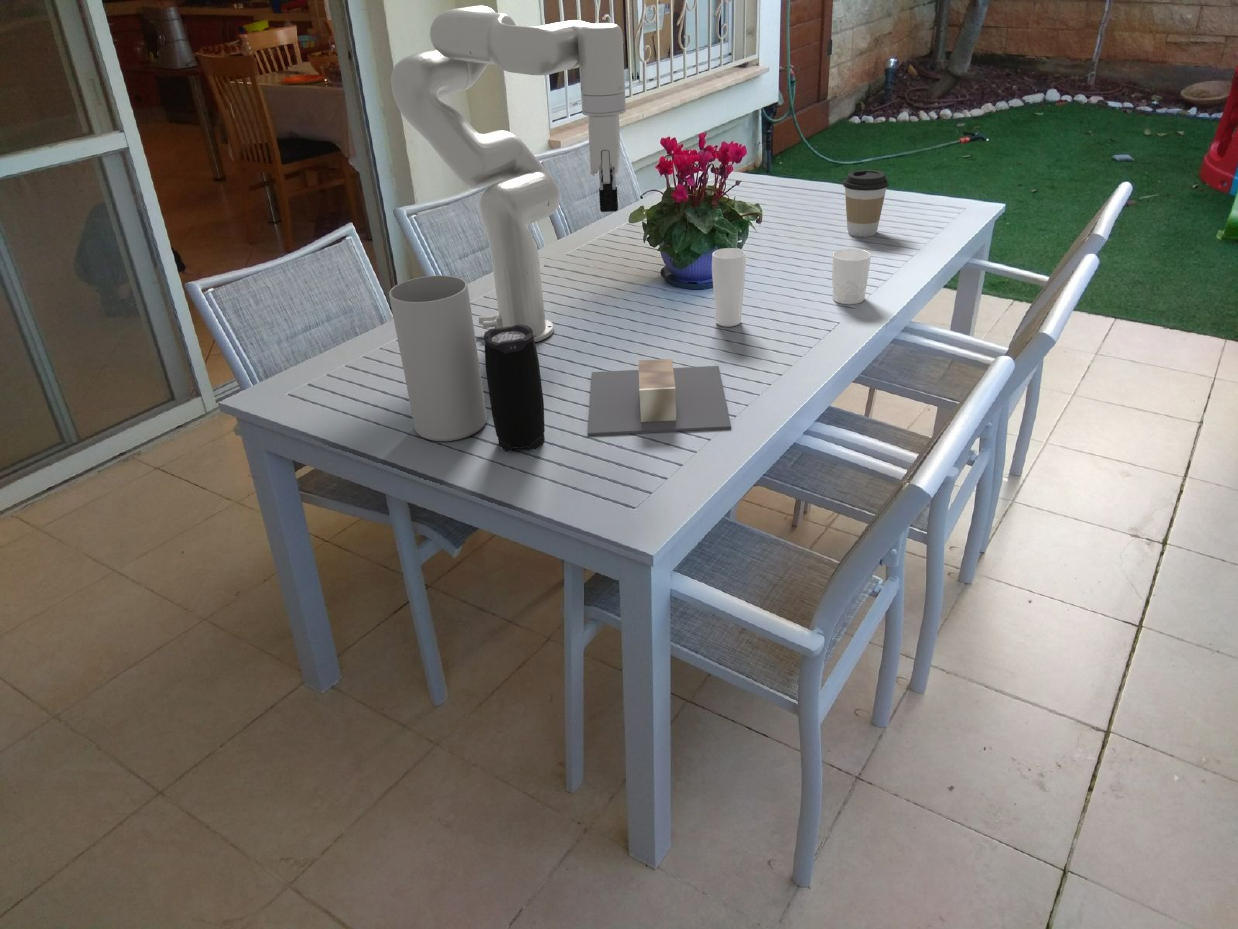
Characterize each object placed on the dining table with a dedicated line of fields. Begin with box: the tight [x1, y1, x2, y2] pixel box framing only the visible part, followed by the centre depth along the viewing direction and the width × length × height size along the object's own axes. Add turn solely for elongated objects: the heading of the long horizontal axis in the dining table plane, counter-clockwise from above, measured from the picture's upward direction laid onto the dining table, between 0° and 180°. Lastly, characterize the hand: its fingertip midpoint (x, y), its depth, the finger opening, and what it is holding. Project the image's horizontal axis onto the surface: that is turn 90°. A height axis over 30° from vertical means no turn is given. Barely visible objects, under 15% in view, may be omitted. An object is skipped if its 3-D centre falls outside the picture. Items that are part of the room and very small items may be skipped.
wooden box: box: [637, 358, 676, 422], centre depth 162 cm, size 6×6×12 cm
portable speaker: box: [483, 324, 545, 452], centre depth 150 cm, size 9×9×20 cm
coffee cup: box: [842, 169, 890, 238], centre depth 238 cm, size 11×11×15 cm
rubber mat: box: [587, 365, 732, 437], centre depth 166 cm, size 24×24×1 cm
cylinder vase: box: [388, 274, 488, 442], centre depth 156 cm, size 12×12×25 cm
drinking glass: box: [711, 247, 747, 328], centre depth 191 cm, size 7×7×15 cm
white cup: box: [831, 248, 872, 305], centre depth 200 cm, size 8×8×10 cm
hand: (609, 210), depth 168 cm, fingers closed
